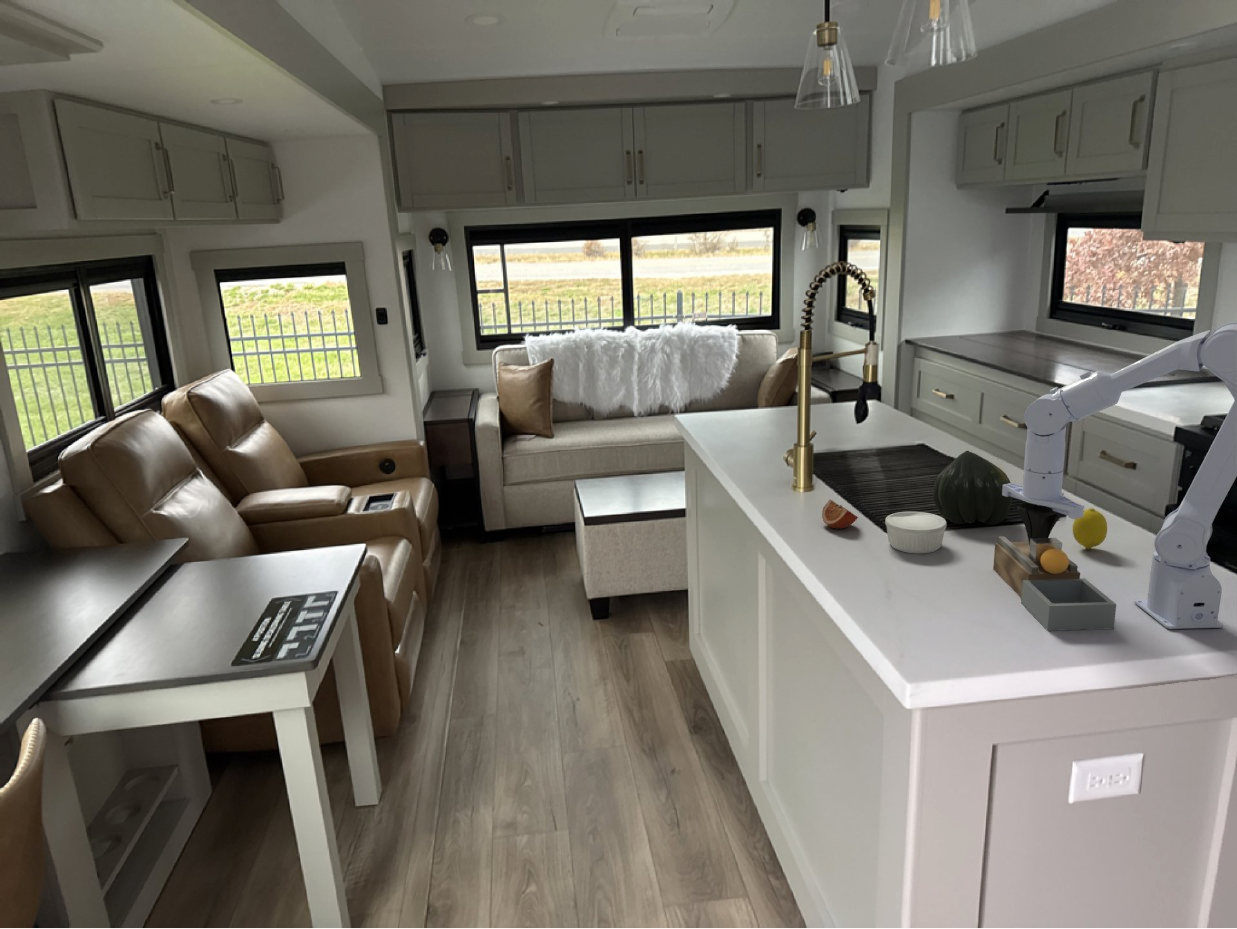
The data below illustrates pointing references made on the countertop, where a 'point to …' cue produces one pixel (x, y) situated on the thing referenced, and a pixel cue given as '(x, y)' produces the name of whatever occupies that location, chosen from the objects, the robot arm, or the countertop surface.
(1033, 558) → the plunger
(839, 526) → the fruit slice
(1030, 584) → the grey open tray
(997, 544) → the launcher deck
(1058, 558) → the ball
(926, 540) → the ramekin
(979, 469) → the squash
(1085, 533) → the lemon
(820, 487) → the countertop surface
